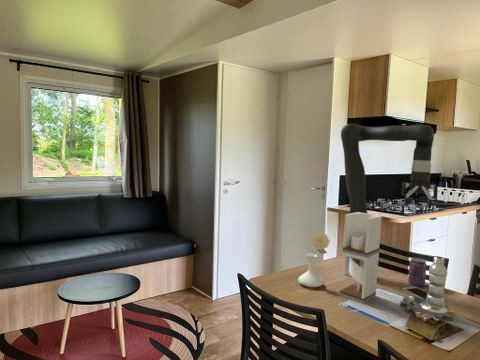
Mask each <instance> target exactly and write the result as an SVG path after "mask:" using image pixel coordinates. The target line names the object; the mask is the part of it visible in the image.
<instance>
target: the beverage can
mask: <svg viewBox="0 0 480 360" xmlns="http://www.w3.org/2000/svg"><path fill="white" fill-rule="evenodd" d="M408 266H409V267H408V269H409V270H408V281H407V282H408V283H409V284H410V285H411V286H413V287H424V286H425V285H426V277H427V276H426V275H427V274H426V273H427V267H428V266H427V263H426V260H425V259H423V258H418V257H411V258H410V261H409V265H408Z"/></svg>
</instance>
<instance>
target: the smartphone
mask: <svg viewBox="0 0 480 360" xmlns="http://www.w3.org/2000/svg"><path fill="white" fill-rule="evenodd" d="M402 289H403V290H405V291H406V292H408V293H410V294H412V295H414V296H416V297H419V298H421V299H426V297H427V294H428V291H427V292H426V291H425V290H422V289H421V288H419V287H418V286H410V287H403V288H402Z"/></svg>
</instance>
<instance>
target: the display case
mask: <svg viewBox="0 0 480 360" xmlns="http://www.w3.org/2000/svg"><path fill="white" fill-rule="evenodd" d="M367 213H368V212H367ZM367 213H361V212H356V213H351V214H350V213H348V214H347V213H346V214H344V224H343V225H344V227H343V239H342V241H343V243H342V253H341V254H342V256H345V257H346V256H349V257H350V263H349V273H350V275H351V276H352V279H353V280H354V283H352V284H351V285H348V286H346V287H344V288H342V289H340V290H339V296H341V297H344V298H346V299H348V300H352V301H355V302H357V303H360V302H361V303H360V304H363V303H364V304H365V303H367V302H368V301H370V300H373V298H375V297H376V293H377V282H378V271H379V257H380V244H381V232H382V231H381V228H382V218H383V217H382V215H379V214H378V215H376V214H371V213H368V214H367ZM351 276H350V277H351Z"/></svg>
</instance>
